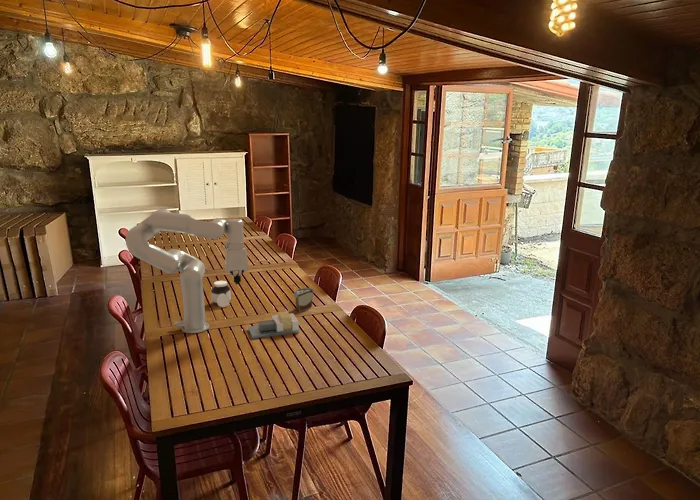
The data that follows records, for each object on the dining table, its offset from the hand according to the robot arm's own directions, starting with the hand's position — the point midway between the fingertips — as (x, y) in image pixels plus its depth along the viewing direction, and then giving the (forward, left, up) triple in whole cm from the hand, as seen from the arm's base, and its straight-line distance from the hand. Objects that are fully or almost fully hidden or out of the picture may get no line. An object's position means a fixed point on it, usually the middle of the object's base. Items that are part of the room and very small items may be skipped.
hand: (237, 283), depth 233 cm
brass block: (+20, -10, -21) cm, 31 cm away
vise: (+15, -10, -22) cm, 28 cm away
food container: (+35, +15, -22) cm, 44 cm away
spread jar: (-4, +34, -22) cm, 41 cm away
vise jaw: (+13, -10, -20) cm, 26 cm away
